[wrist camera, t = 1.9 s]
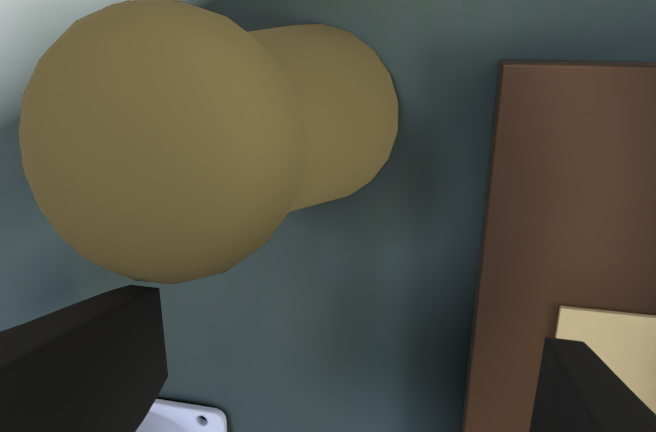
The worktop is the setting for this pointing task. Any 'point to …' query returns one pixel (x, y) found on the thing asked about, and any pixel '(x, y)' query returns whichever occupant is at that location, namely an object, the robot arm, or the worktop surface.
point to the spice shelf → (565, 232)
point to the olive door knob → (196, 134)
